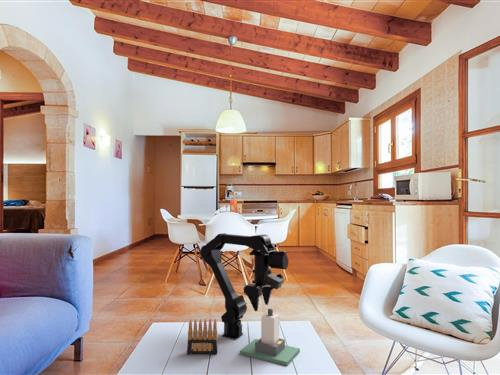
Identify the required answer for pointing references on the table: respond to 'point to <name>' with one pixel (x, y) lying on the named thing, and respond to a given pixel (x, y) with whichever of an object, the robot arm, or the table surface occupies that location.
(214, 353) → the ammunition clip
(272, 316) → the plug block
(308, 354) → the table surface
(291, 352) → the header board
